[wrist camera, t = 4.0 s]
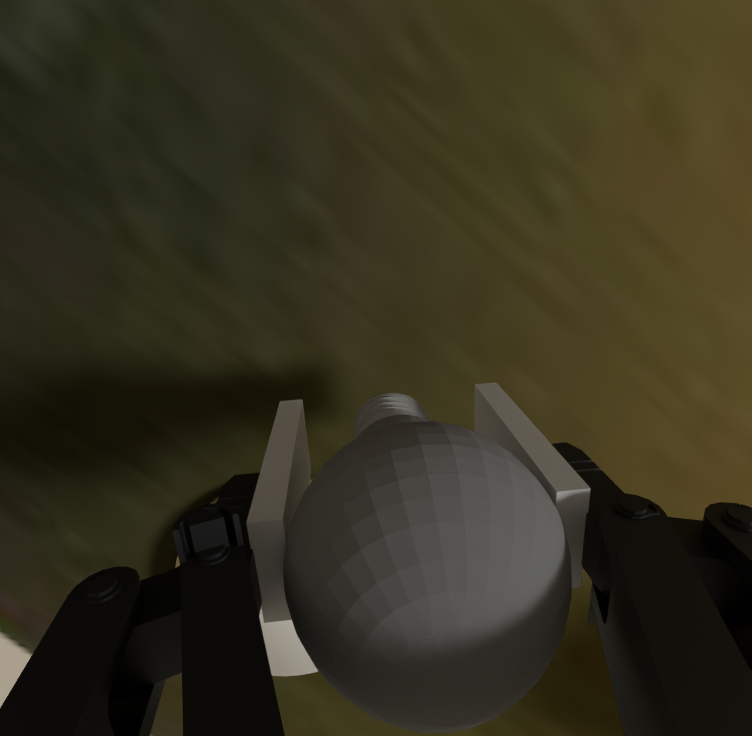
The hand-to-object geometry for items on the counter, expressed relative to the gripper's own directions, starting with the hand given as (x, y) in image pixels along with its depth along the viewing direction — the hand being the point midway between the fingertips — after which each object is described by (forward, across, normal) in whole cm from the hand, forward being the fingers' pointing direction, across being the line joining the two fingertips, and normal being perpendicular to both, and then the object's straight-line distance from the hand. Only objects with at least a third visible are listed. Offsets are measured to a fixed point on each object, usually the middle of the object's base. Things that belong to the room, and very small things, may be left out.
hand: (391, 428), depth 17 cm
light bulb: (+1, 0, 0) cm, 1 cm away
